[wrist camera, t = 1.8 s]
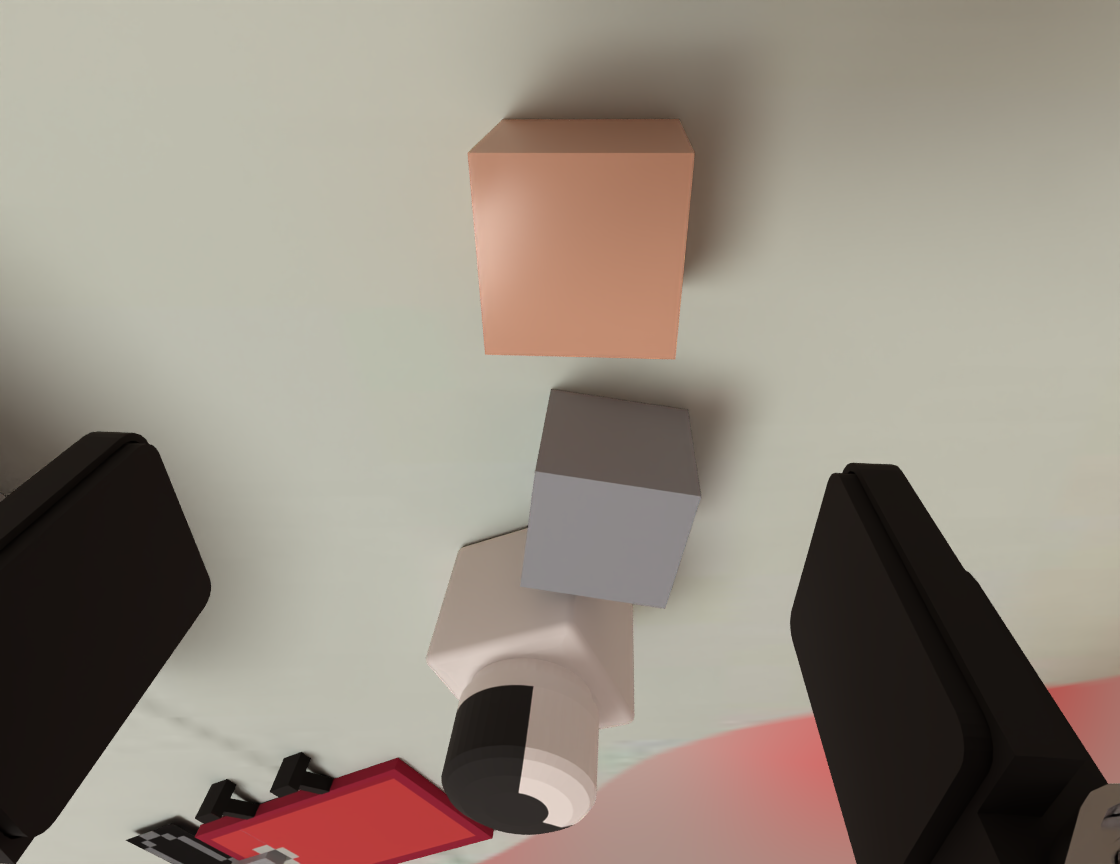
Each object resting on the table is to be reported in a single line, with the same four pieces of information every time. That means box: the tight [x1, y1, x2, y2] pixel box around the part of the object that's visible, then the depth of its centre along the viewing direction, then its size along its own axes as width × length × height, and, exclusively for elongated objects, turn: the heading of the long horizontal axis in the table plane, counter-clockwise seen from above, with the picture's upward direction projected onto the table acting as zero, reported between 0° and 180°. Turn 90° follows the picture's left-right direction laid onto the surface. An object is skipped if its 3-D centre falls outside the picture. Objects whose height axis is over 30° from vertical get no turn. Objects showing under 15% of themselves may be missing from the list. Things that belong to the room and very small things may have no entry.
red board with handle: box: [126, 752, 494, 864], centre depth 52 cm, size 30×3×15 cm
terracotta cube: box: [468, 119, 695, 359], centre depth 21 cm, size 6×6×6 cm
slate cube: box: [520, 389, 701, 609], centre depth 27 cm, size 6×6×6 cm
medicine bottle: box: [426, 528, 634, 835], centre depth 29 cm, size 7×7×12 cm
